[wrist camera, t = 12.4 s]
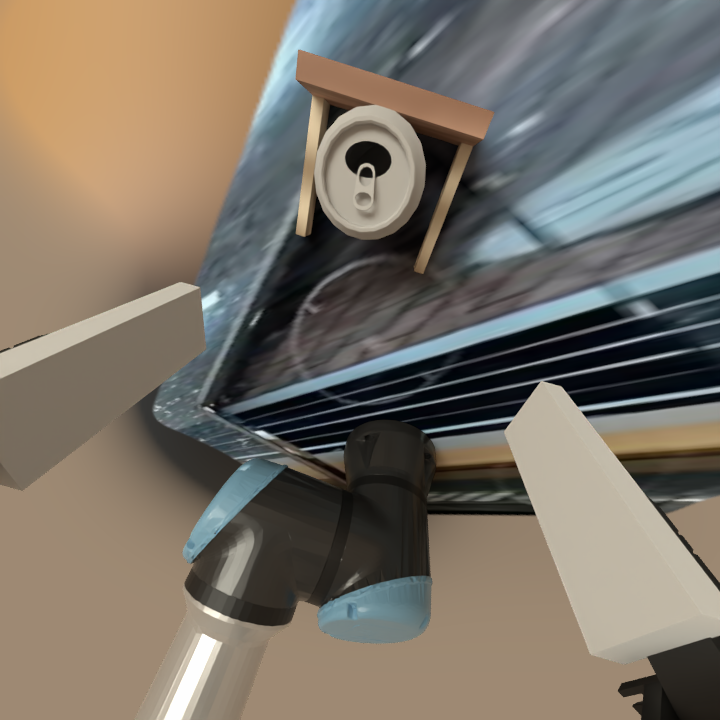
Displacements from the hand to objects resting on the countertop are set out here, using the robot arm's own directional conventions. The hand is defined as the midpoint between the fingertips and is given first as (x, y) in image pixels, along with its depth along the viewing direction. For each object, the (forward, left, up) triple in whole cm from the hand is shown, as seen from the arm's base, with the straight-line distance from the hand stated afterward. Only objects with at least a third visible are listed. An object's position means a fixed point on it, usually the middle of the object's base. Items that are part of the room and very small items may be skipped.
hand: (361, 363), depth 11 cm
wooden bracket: (+6, +3, -23) cm, 24 cm away
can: (+6, +3, -23) cm, 24 cm away
